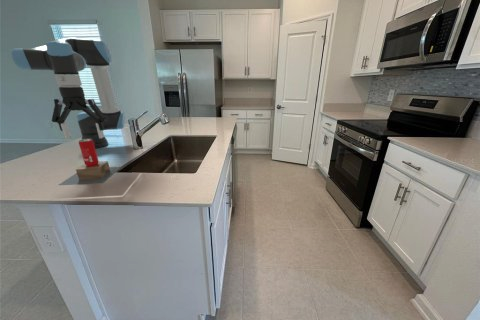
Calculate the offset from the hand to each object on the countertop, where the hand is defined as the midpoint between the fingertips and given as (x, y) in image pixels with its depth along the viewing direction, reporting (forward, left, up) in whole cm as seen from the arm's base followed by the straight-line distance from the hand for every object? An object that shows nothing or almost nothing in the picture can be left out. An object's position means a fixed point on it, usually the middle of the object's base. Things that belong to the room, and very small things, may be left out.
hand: (85, 137), depth 87 cm
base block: (0, 0, -18) cm, 18 cm away
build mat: (0, -1, -19) cm, 19 cm away
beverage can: (0, 0, -13) cm, 13 cm away
